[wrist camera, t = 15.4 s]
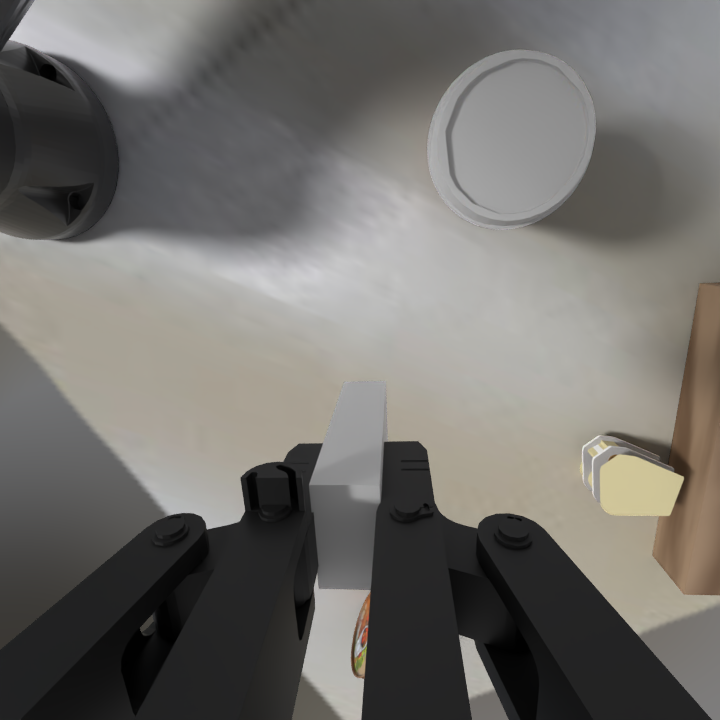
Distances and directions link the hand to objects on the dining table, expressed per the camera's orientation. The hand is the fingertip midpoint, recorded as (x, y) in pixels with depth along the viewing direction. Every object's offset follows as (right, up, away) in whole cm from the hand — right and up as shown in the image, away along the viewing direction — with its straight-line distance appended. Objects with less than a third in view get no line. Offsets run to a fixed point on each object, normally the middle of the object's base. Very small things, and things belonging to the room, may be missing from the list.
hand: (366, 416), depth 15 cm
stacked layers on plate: (+24, -7, +26) cm, 36 cm away
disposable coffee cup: (+9, +18, +20) cm, 28 cm away
